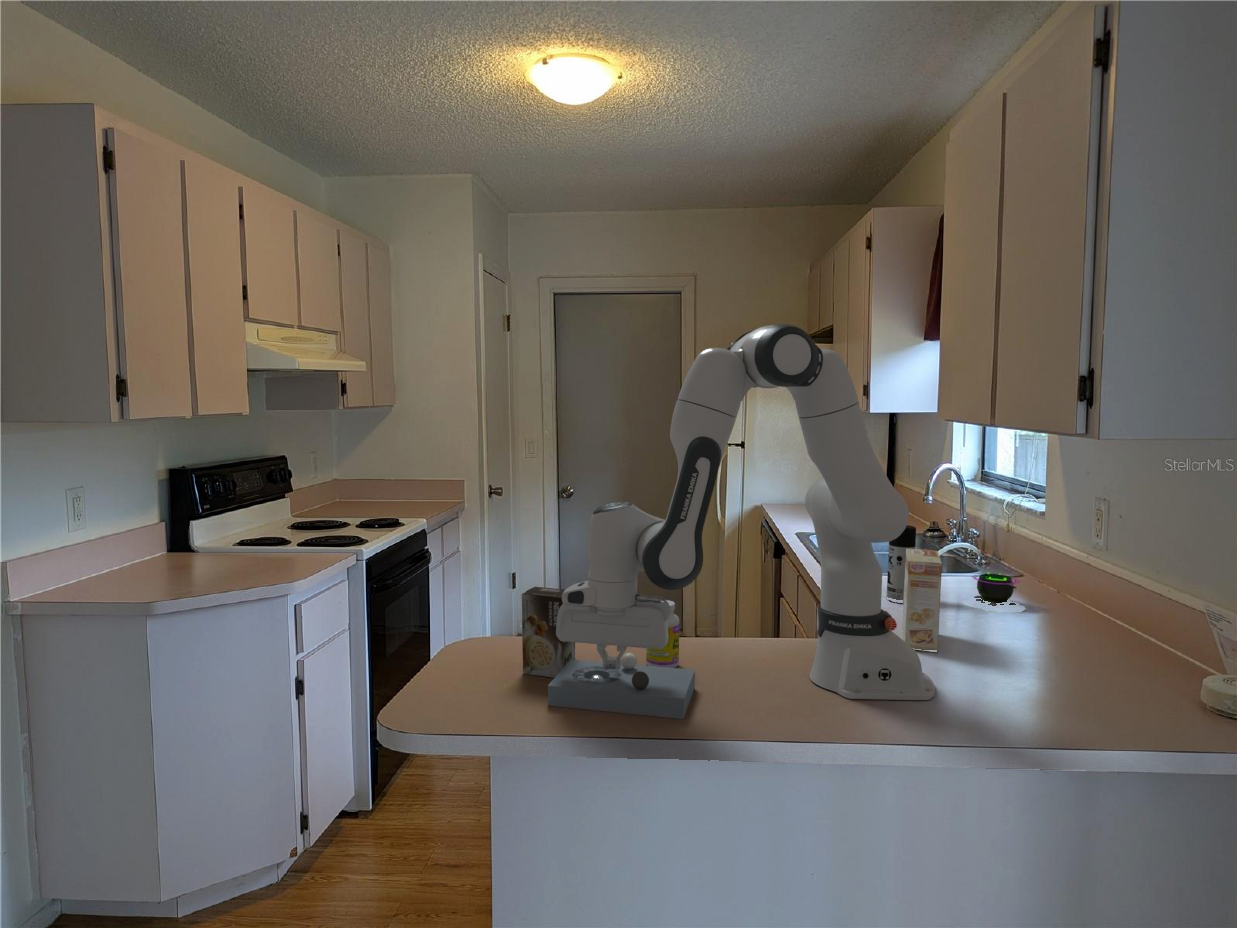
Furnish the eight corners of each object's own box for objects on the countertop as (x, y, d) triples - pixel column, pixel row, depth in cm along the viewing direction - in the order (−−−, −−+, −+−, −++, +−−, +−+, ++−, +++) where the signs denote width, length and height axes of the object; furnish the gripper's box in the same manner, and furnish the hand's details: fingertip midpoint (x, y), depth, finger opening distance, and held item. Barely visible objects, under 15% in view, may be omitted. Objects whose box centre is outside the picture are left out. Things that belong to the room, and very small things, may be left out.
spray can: (884, 596, 211) (887, 523, 209) (910, 597, 210) (913, 524, 208) (889, 603, 204) (892, 528, 203) (916, 604, 204) (919, 528, 202)
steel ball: (609, 673, 143) (590, 670, 143) (604, 680, 139) (585, 677, 140) (607, 692, 143) (588, 688, 144) (602, 699, 139) (583, 696, 140)
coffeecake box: (938, 653, 165) (943, 563, 163) (903, 649, 167) (906, 560, 166) (934, 633, 179) (938, 549, 177) (901, 629, 182) (905, 547, 180)
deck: (694, 688, 145) (694, 669, 144) (683, 719, 131) (684, 698, 131) (570, 677, 150) (570, 659, 150) (547, 705, 136) (547, 685, 136)
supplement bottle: (676, 672, 153) (677, 608, 152) (643, 669, 154) (643, 606, 153) (680, 660, 160) (681, 599, 159) (648, 658, 161) (649, 597, 160)
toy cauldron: (1040, 611, 198) (1042, 569, 197) (990, 615, 194) (992, 572, 193) (997, 596, 213) (999, 556, 212) (950, 599, 209) (952, 559, 208)
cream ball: (638, 666, 146) (638, 651, 145) (635, 672, 143) (635, 656, 143) (622, 665, 146) (622, 649, 146) (619, 670, 143) (619, 655, 143)
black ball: (650, 686, 136) (650, 669, 136) (647, 692, 133) (647, 675, 133) (633, 684, 137) (633, 668, 136) (630, 691, 134) (630, 674, 134)
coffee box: (577, 669, 155) (577, 589, 153) (563, 680, 149) (563, 597, 147) (535, 663, 158) (535, 585, 156) (520, 673, 152) (520, 593, 150)
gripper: (672, 592, 140) (671, 666, 141) (563, 584, 145) (563, 657, 146) (666, 601, 134) (665, 679, 135) (553, 593, 138) (553, 668, 140)
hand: (611, 667), depth 140 cm, fingers closed
